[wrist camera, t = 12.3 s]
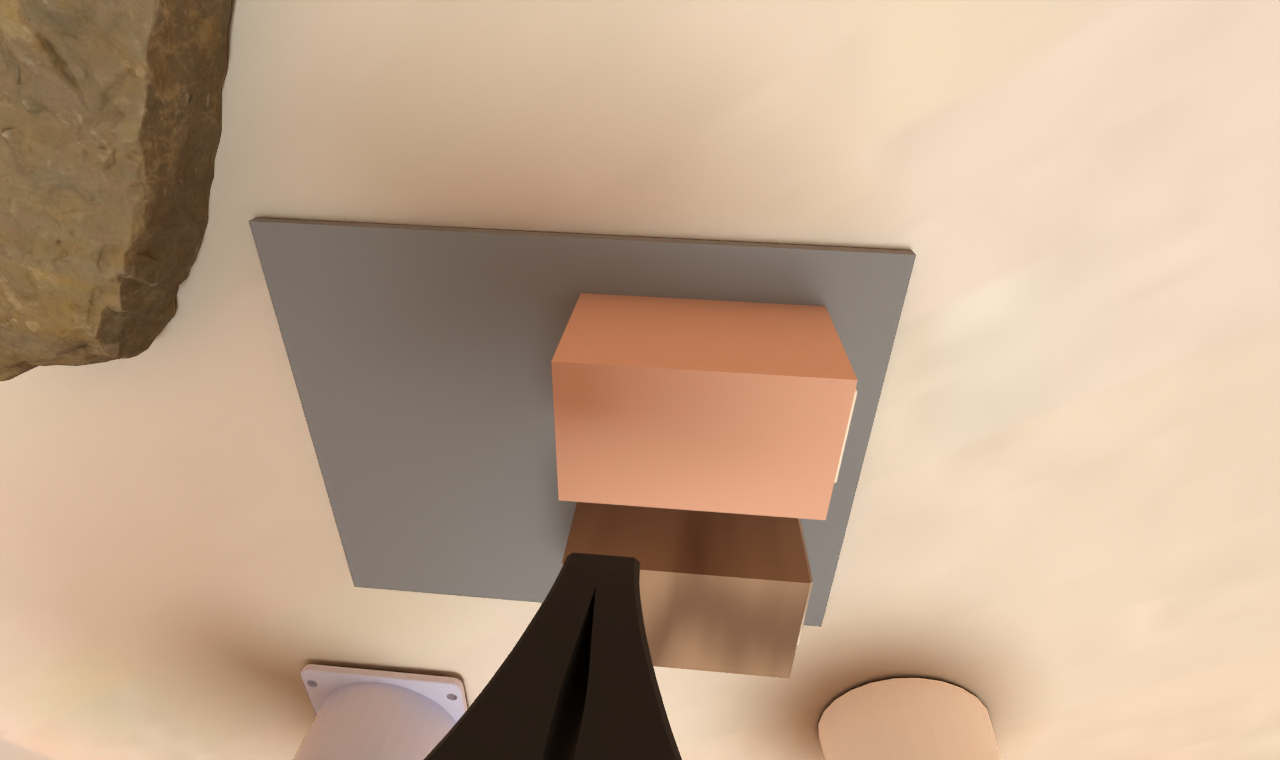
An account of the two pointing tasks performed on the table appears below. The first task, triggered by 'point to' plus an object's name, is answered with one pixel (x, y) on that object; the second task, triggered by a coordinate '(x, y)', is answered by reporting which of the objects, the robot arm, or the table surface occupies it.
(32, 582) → the table surface
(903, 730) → the cup
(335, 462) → the rubber mat
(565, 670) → the robot arm
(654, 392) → the terracotta block
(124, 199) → the stone slab
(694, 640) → the walnut block
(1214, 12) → the table surface
